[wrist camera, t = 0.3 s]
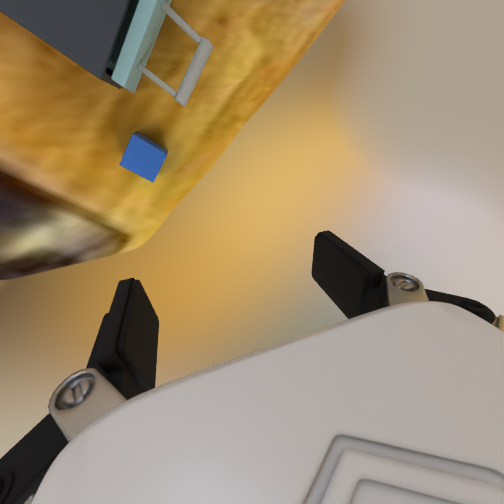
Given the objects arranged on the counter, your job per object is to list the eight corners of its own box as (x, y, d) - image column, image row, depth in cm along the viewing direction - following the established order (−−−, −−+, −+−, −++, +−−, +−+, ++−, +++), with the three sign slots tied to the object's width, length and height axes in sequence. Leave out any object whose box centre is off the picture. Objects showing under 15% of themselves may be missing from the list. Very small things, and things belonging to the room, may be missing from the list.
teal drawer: (216, 38, 28) (229, 16, 22) (176, 122, 31) (177, 125, 25) (16, -163, 18) (-67, -313, 12) (-11, -8, 21) (-88, -60, 15)
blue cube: (137, 131, 31) (132, 133, 27) (167, 150, 33) (167, 154, 30) (125, 159, 32) (119, 165, 29) (155, 175, 35) (153, 182, 31)
